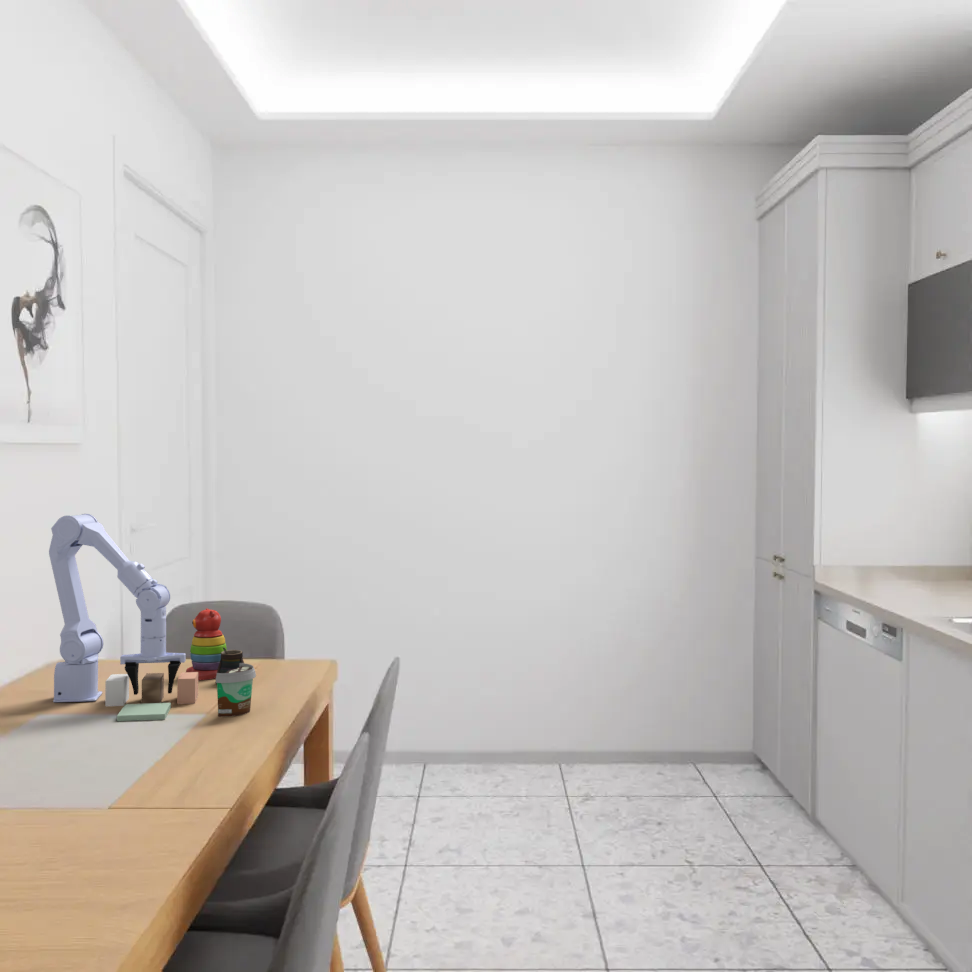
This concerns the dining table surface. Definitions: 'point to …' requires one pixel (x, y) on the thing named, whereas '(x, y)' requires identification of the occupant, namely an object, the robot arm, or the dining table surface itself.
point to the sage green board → (144, 711)
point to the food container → (235, 690)
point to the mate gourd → (230, 660)
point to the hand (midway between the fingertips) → (153, 693)
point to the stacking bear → (206, 645)
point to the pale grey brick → (117, 690)
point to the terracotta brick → (187, 688)
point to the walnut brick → (153, 688)
